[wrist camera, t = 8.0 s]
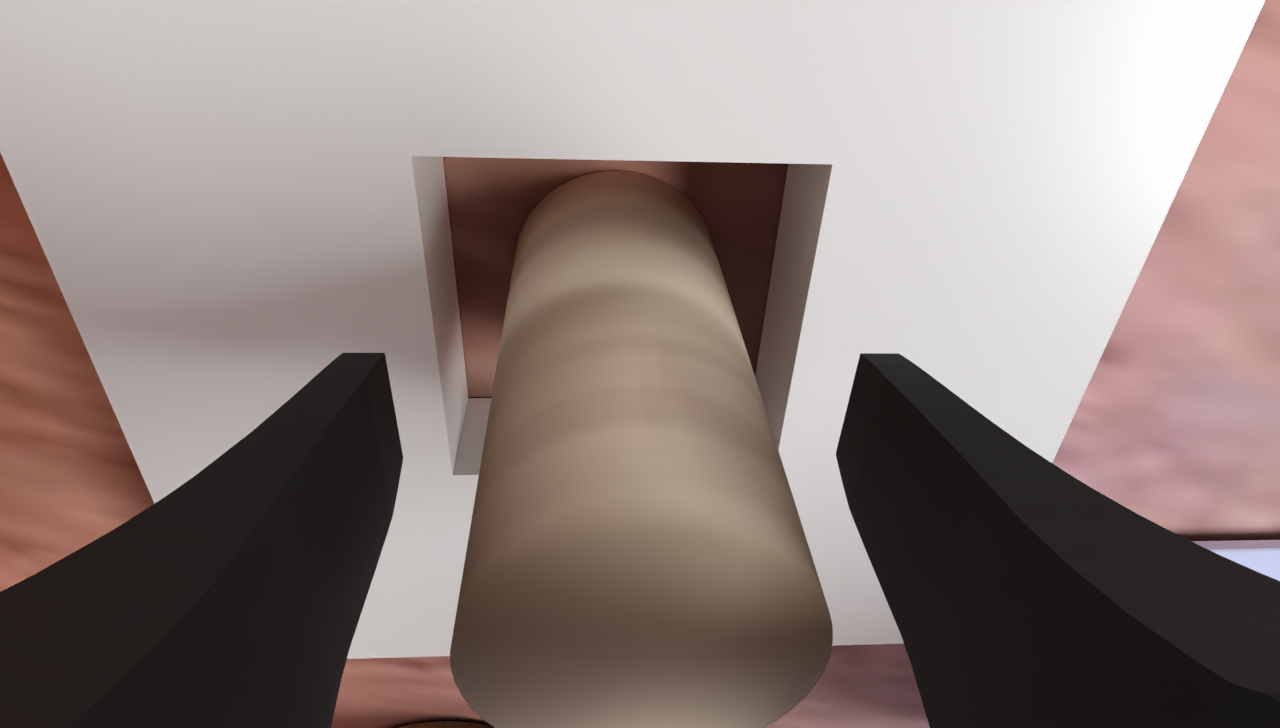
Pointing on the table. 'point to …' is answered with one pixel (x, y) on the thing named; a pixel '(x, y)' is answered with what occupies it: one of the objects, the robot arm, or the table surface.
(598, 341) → the peg
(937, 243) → the socket
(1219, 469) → the table surface
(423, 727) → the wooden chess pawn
